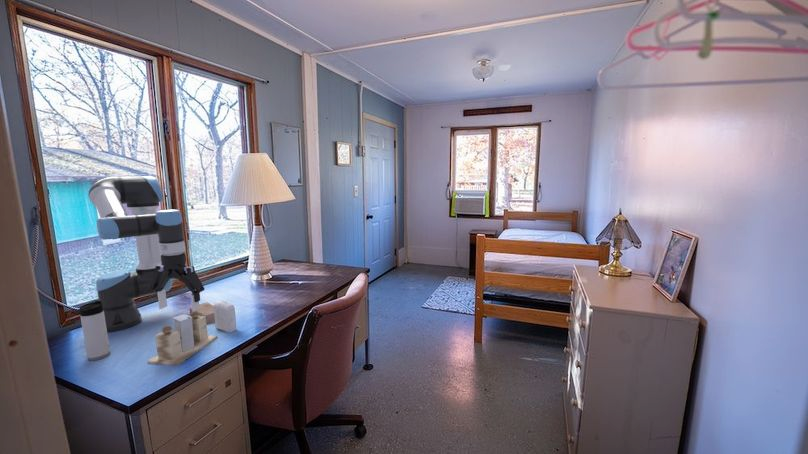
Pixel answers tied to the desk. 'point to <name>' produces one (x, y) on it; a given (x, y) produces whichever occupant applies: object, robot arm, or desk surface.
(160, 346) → the posts
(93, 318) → the travel mug
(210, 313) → the brick
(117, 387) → the desk surface
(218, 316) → the photo printer
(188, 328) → the skincare box
